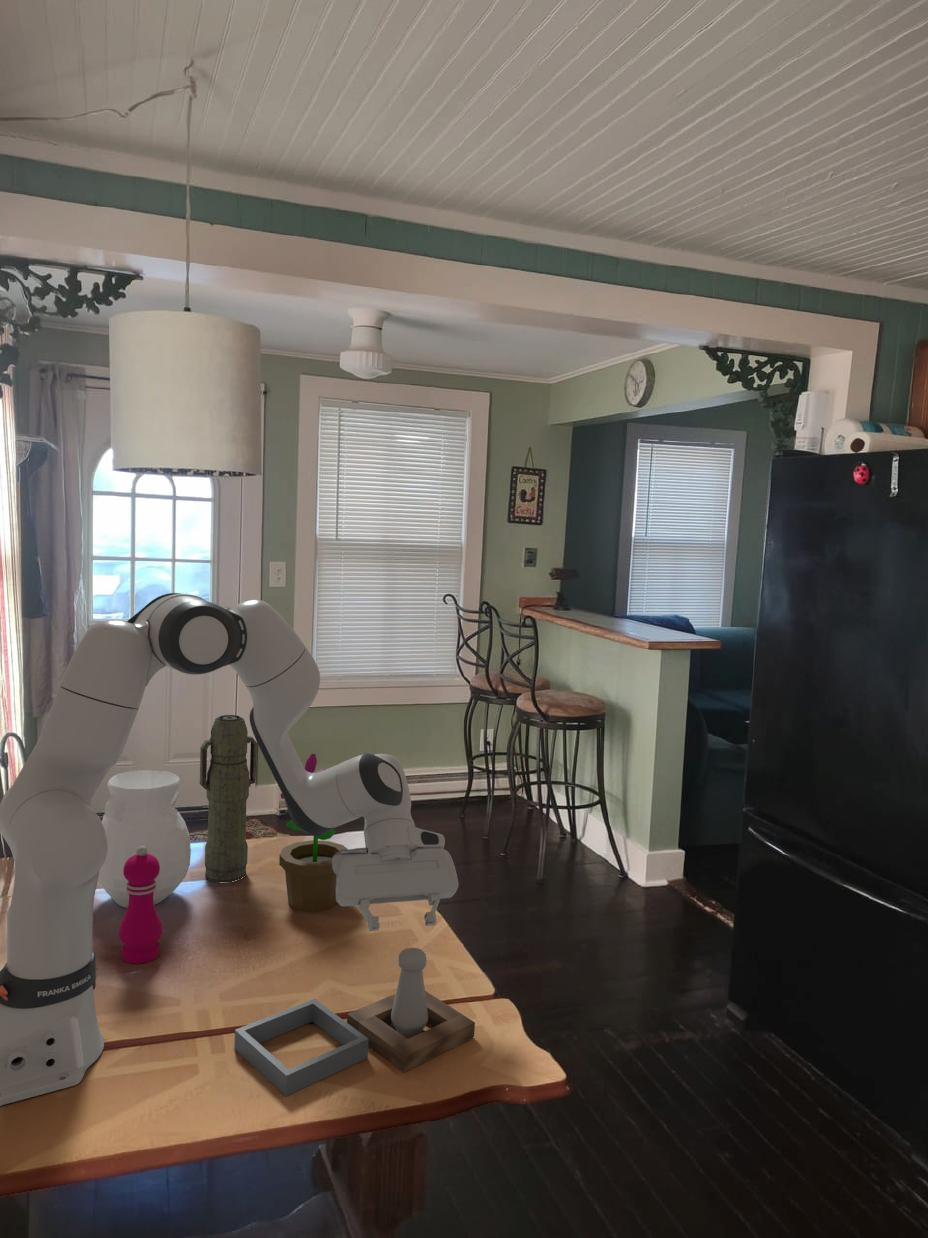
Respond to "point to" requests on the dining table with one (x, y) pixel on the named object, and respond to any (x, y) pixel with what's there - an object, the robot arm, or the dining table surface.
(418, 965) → the salt shaker
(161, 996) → the dining table surface
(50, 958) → the robot arm
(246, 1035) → the blue square frame
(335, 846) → the flowerpot
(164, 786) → the pitcher
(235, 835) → the thermos
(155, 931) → the pepper mill
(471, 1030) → the brown square frame
